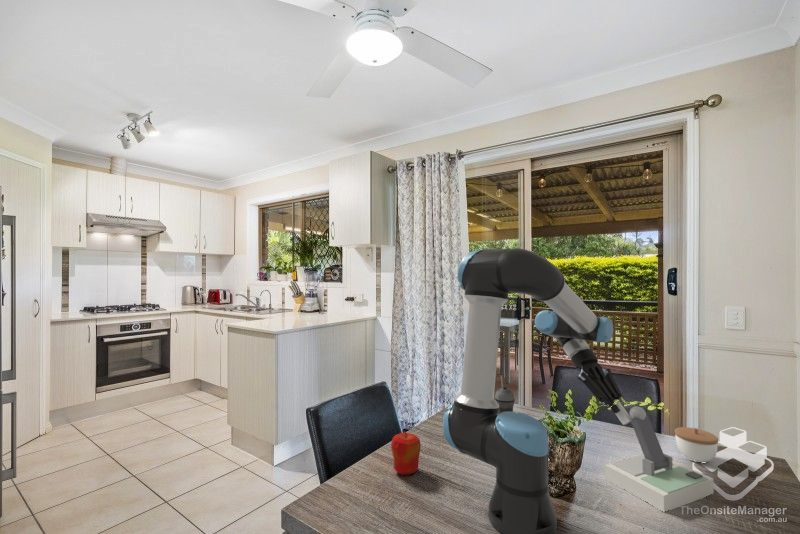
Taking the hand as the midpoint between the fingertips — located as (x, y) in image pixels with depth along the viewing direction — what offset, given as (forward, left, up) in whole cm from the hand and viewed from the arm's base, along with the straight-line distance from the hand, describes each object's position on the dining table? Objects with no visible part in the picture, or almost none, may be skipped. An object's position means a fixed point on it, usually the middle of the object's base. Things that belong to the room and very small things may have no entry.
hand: (627, 422), depth 112 cm
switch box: (-6, -6, -14) cm, 17 cm away
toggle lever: (-6, -6, -9) cm, 13 cm away
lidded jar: (+17, -21, -14) cm, 31 cm away
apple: (-25, +60, -14) cm, 67 cm away
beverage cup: (+16, +37, -14) cm, 43 cm away
